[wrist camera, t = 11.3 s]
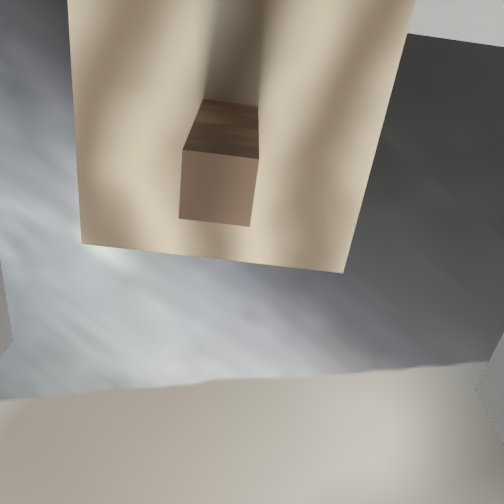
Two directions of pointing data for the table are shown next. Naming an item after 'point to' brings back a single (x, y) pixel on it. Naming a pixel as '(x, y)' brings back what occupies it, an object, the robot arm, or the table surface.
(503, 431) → the robot arm
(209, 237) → the lid
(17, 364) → the table surface
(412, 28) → the tray
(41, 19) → the table surface
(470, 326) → the table surface
